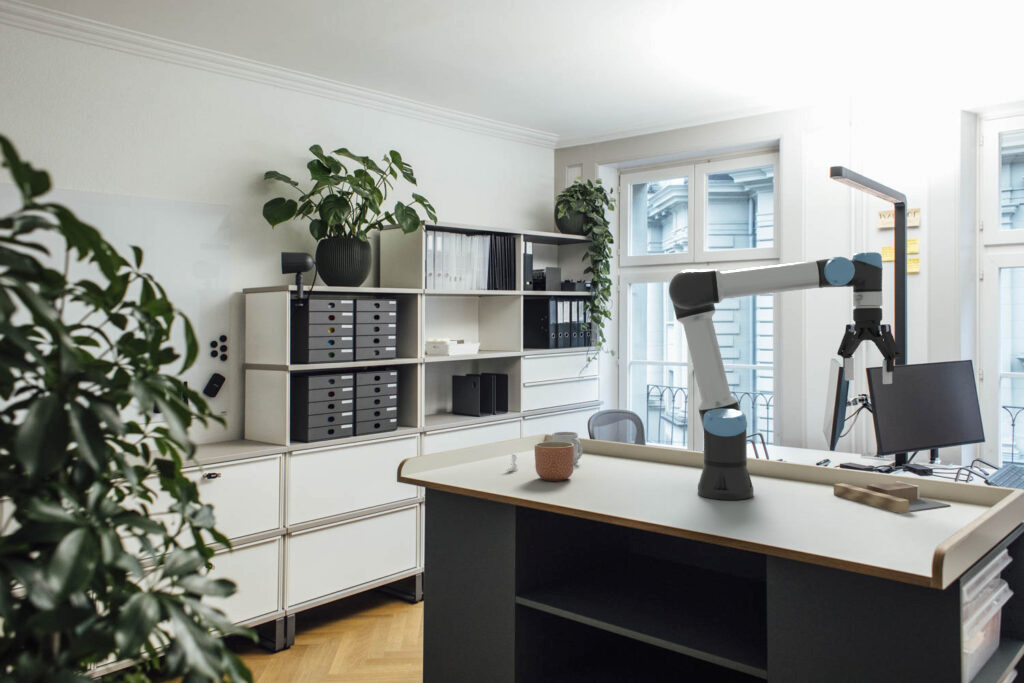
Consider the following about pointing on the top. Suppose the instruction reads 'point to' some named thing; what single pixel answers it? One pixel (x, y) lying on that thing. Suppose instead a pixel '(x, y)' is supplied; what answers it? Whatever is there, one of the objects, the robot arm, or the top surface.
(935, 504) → the mat
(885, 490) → the slab
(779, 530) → the top surface
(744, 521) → the top surface
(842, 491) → the rail
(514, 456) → the figurine
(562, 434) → the mug
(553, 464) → the planter
